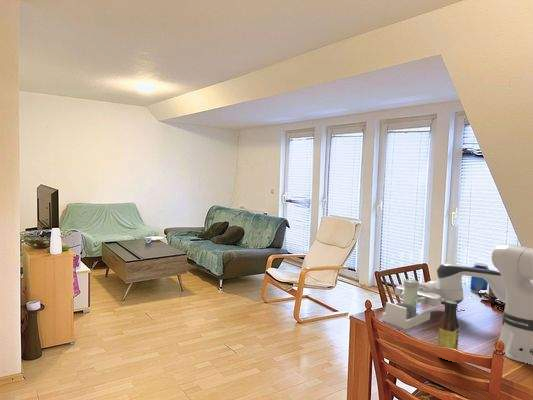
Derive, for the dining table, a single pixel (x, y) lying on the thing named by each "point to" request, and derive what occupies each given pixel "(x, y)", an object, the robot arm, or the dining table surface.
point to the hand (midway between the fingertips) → (408, 298)
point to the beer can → (478, 280)
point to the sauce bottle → (449, 326)
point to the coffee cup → (491, 296)
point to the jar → (410, 292)
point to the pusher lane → (402, 316)
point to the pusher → (409, 311)
